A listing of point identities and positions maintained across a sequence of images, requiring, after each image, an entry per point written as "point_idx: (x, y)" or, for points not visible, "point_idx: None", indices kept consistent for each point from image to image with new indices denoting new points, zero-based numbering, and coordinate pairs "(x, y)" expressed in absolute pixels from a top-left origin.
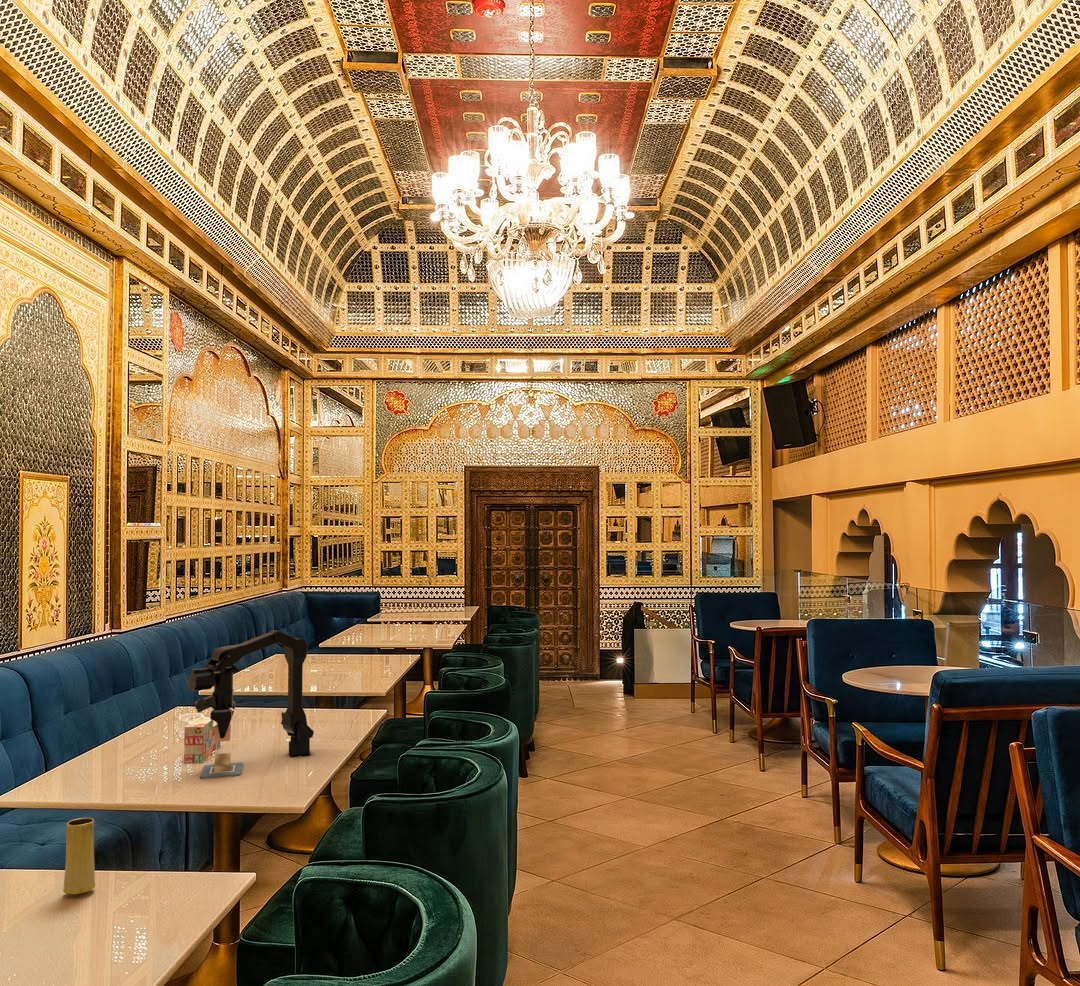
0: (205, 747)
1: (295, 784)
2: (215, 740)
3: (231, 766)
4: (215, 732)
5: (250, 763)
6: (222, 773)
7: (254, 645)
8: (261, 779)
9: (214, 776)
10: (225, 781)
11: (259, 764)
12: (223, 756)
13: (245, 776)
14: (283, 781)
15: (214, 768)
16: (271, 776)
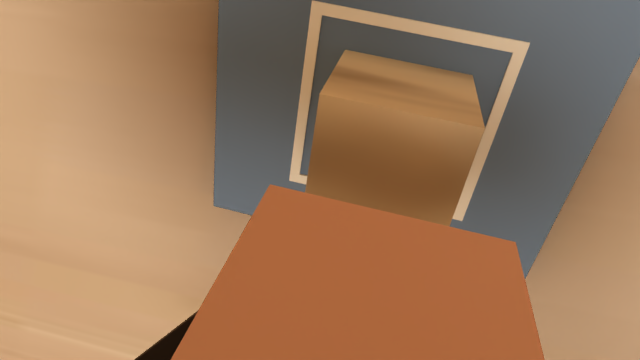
0: None
1: (7, 345)
2: (262, 207)
3: None
4: (206, 307)
5: None
6: (265, 101)
7: None
8: (110, 267)
9: (221, 33)
10: (106, 91)
11: None
12: (322, 178)
13: (195, 216)
14: (58, 327)
15: (340, 58)
16: (156, 314)
